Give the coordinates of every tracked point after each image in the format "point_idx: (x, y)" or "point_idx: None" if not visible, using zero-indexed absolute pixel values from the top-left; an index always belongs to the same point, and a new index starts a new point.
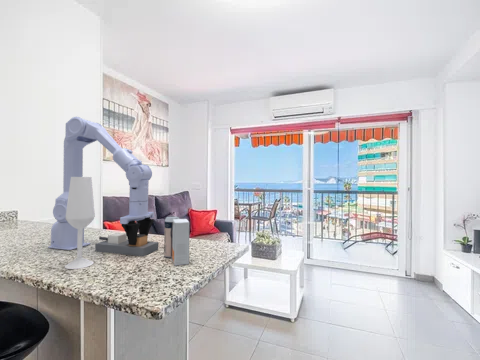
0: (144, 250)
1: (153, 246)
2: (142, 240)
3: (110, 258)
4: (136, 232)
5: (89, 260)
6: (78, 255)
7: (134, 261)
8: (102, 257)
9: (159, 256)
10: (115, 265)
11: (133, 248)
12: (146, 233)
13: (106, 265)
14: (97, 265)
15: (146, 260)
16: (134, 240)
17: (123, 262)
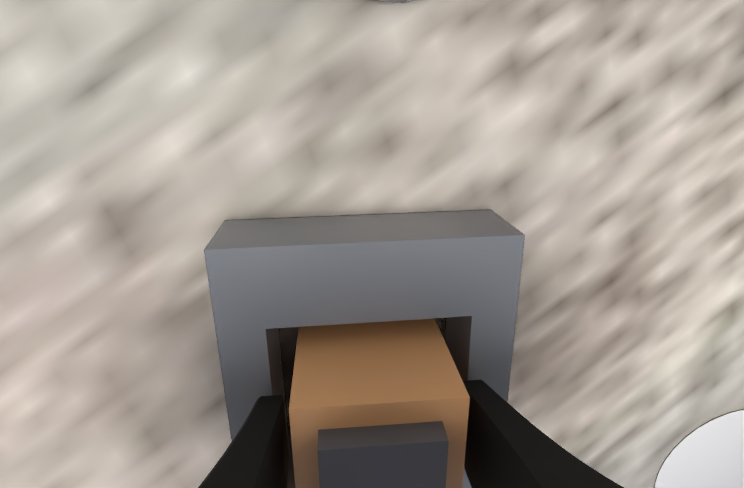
0: (496, 226)
1: (321, 235)
2: (401, 373)
3: (587, 410)
4: (564, 477)
5: (710, 464)
6: None
7: (632, 191)
8: None
9: (445, 49)
10: (736, 263)
11: (508, 347)
12: (266, 459)
13: (738, 320)
14: (739, 372)
15: (591, 102)
16: (510, 412)
17: (665, 258)
